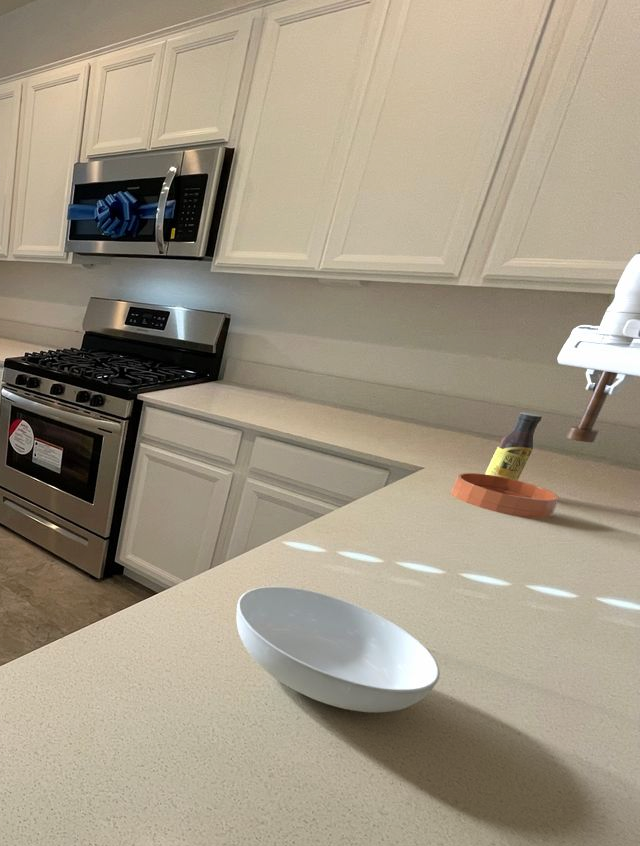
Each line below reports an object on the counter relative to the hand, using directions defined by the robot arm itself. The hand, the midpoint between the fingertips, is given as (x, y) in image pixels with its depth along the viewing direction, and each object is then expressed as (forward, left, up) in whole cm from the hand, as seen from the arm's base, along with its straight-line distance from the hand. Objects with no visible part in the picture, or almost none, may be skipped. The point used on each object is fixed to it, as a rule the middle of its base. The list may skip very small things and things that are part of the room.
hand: (601, 392), depth 127 cm
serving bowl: (+35, +110, -29) cm, 119 cm away
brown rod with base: (0, 0, -11) cm, 11 cm away
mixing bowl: (+9, +7, -29) cm, 31 cm away
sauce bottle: (+7, -15, -29) cm, 33 cm away
